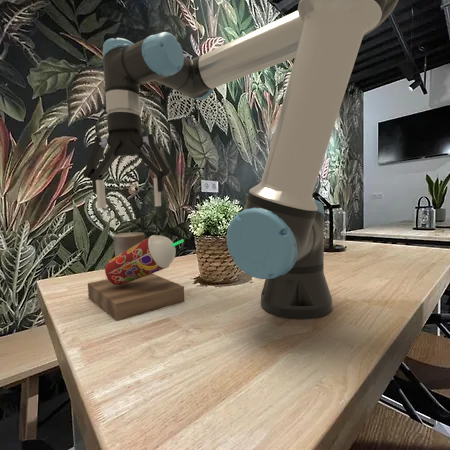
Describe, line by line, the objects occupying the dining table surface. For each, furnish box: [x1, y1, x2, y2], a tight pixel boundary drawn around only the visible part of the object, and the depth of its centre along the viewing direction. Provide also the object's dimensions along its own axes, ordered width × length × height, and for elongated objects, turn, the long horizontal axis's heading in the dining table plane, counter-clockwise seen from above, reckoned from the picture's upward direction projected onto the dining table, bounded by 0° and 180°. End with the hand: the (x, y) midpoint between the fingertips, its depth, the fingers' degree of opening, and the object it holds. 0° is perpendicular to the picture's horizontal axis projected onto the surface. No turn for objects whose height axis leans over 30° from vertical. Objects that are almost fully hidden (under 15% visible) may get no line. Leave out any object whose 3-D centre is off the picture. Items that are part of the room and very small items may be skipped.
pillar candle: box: [113, 230, 146, 257], centre depth 94 cm, size 10×10×15 cm
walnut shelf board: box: [87, 273, 185, 322], centre depth 70 cm, size 20×16×4 cm
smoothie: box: [104, 234, 185, 285], centre depth 68 cm, size 8×8×20 cm
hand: (130, 207), depth 68 cm, fingers open, 13 cm apart
